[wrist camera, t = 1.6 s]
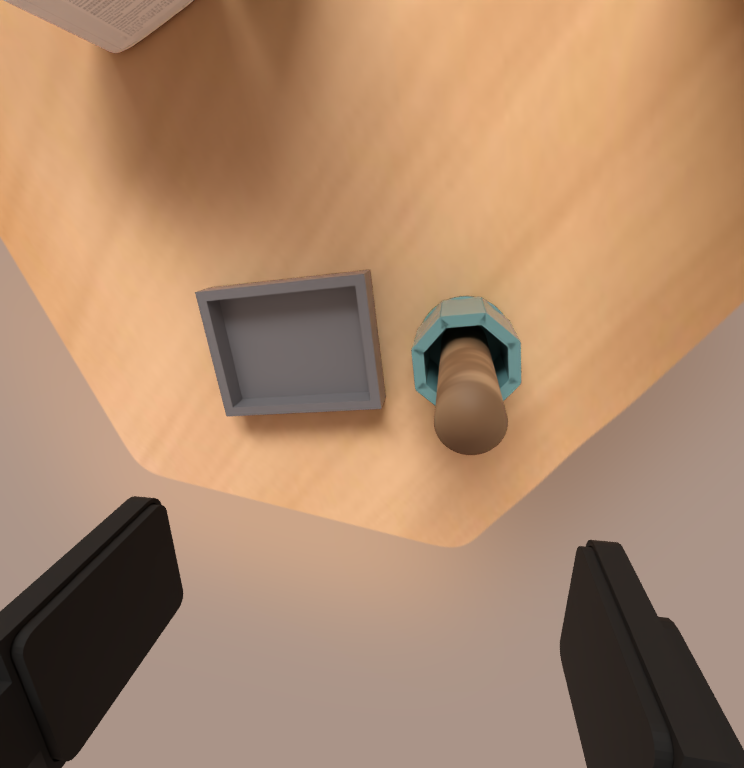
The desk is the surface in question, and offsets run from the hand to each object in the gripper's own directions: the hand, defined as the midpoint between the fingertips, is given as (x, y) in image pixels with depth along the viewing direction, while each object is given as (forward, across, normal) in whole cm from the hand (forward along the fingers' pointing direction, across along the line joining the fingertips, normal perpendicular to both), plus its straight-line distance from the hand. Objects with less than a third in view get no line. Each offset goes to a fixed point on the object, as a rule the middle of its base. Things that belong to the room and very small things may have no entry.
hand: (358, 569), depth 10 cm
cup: (+29, -3, +2) cm, 29 cm away
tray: (+29, +11, +3) cm, 31 cm away
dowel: (+28, -3, +2) cm, 28 cm away
